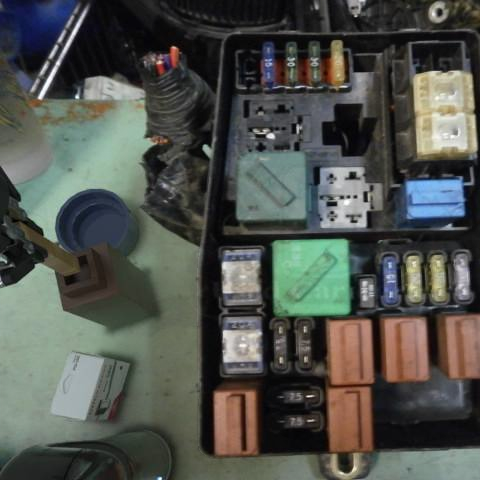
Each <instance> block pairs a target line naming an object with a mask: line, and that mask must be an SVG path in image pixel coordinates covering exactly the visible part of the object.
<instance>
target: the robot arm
mask: <svg viewBox="0 0 480 480" xmlns="http://www.w3.org/2000/svg"><path fill="white" fill-rule="evenodd" d="M21 202H22V196H21V193H20V192H19V190H18V189H17V187H16V186H15V185H14V183H13V181H12V180H11V179H10V177H9V176H8V174H7V173H6V172H5V170H4V169H3V166H1V165H0V258H1V259H3V260H0V289H4V288H6V287H10V286H13V285H16V284H18V283H19V282H21V280H23V279H24V278H25V277H26V276H27V275H29V274H30V273H31V272H32V271H33V270H34V269H36V265H38V264H41V263H42V262H45V260H44V259H46V258H48V257H49V256H48V251H47V250H46V249H45V248H43V247H41V246H40V245H38V244H36V243H35V242H33V241H29V240H28V239H27V238H26V237H25V232H24V231H23V230H22V229H20V228H19V227H18V226H16V225H15V224H14V223H15V222H18V221H20V222H22V223H23V224H25V225H26V226H28V227H30V228H31V229H33V230H34V231H36V232H37V233H39V234H41V235H42V236H44V237H45V233H44V229H43V228H42V227H41V226H39V225H38V224H37V223H36V221H34V220H33V219H31V218H30V217H28V216H29V215H28V213H27V212H26V210H25V209H23V208H22V207H21V206H20V204H19V203H21ZM4 260H5V261H4ZM169 446H170V445H168V443H167V441H166V440H165V439H164V438H163V437H162V436H161V435H160V434H158V433H157V432H154V431H151V430H148V429H135V430H132V431H129V432H125V433H120V434H115V435H111V436H106V437H102V438H96V439H79V440H78V439H77V440H76V439H72V440H62V441H55V442H48V443H41V444H35V445H31V446H28V447H26V448H23V449H22V450H20V451H19V452H18V453H16V454H15V455H14V456H12V457H11V458H10V459H9V460H8V462H7V463H6V464H5V465H4V466H3V468H2V469H1V470H0V480H168V479H169V477H170V474H171V471H172V465H173V457H172V452H171V449H170V447H169Z"/></svg>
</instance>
